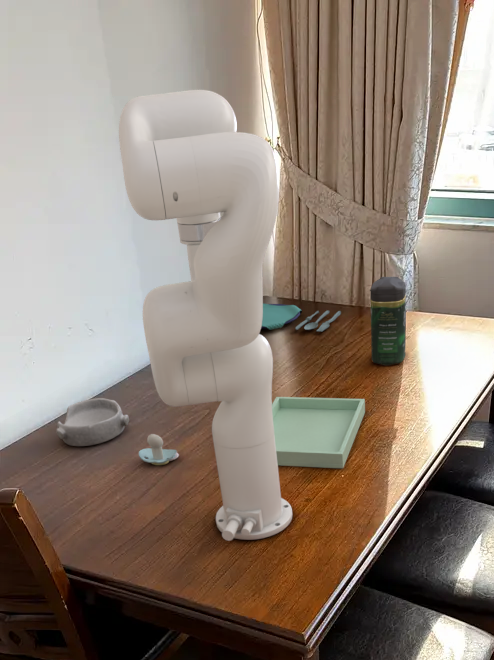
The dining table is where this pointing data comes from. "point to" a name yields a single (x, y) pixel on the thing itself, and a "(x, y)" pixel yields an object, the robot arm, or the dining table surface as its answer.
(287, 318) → the cutlery set
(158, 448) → the pacifier
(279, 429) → the tray
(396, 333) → the coffee jar
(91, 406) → the dish
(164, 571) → the dining table surface
